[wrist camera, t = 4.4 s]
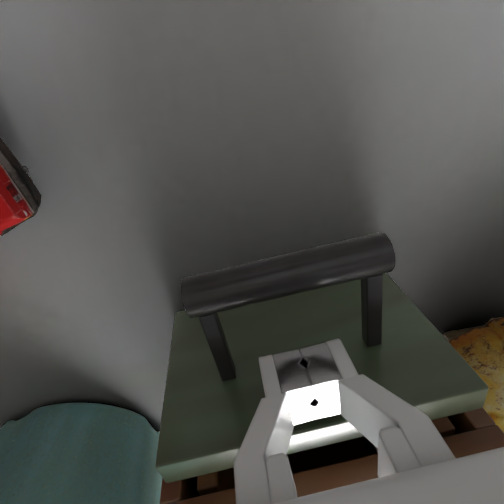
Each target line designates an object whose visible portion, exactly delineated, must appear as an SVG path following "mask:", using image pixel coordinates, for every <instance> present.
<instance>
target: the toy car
mask: <svg viewBox="0 0 504 504" xmlns="http://www.w3.org/2000/svg"><path fill="white" fill-rule="evenodd" d="M26 172H29V169H28V168H27V167H25V166H24V167H21V165H20V163H19V162H18V160H17V159H16V158H15V156H14V155H13V154H12V152H11V151H10V150H9V149H8V147H7V146H6V145H5V143H4V142H3V141H2V140H1V138H0V235H1V236H3V235H4V234H6V233H7V232H9V231H10V230H12V229H13V228H15V227H16V226H18V225H19V224H21V223H22V222H24V221H26V220H27V219H29V218H31V217H33V216H34V215H35V214H36V213H37V210H38V208H39V206H40V202H41V194H40V193H39V191H38V190H37V188H36V186H35V185H34V183H33V181H32V180H31V178H30V177H29V175H28V174H26Z"/></svg>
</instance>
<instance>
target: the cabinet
mask: <svg viewBox="0 0 504 504" xmlns="http://www.w3.org/2000/svg"><path fill="white" fill-rule="evenodd" d="M447 417H448V419H449V420H450V422H451V423H452V425H453V426H454V428H455V432H454V435H452V436H448V437H444V438H443V439H444V441H445V442H446V444H447V446H448V447H449V449H450V450H451V452H452V453H453V455H454V456H455V458H460V457H464V456H468V455H472V454H476V453H481V452H485V451H489V450H493V449H497V448H501V447H504V432H503V431H502V430H501V429H500V428H499V426H498V425H496V424H495V422H494V421H493V419H492V418H491V417H490V416H489V415H488V413H487V412H486V411H485V410H484V408H483V407H482V408H480V409H475V410H471V411H467V412H463V413H459V414H455V415H450V416H447ZM377 471H378V453H377V454H373V455H369V456H365V457H360V458H356V459H352V460H348V461H344V462H340V463H335V464H331V465H327V466H323V467H319V468H315V469H310V470H306V471H302V472H298V473H294V474H292V475H293V479H294V483H295V487H296V491H297V495H298V497H302V496H306V495H310V494H314V493H318V492H322V491H326V490H330V489H334V488H338V487H342V486H346V485H350V484H354V483H359V482H363V481H367V480H371V479H375V478H379V477H378V475H377ZM160 504H236V495H235V488H231V489H227V490H223V491H219V492H215V493H211V494H206V495H202V496H200V494H199V492H198V490H197V476H196V477H192V478H188V479H183V480H179V481H175V482H171V483H166V482H165V481H164V479H163V478H162V485H161V495H160Z"/></svg>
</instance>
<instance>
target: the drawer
mask: <svg viewBox="0 0 504 504" xmlns="http://www.w3.org/2000/svg"><path fill="white" fill-rule="evenodd" d="M394 267H395V253H394V249H393V246H392V243H391V241H390V240H389V238H388V237H387V235H386V234H384V233H382V232H379V233H374V234H370V235H366V236H361V237H357V238H353V239H349V240H344V241H340V242H336V243H331V244H327V245H323V246H318V247H314V248H310V249H306V250H301V251H297V252H293V253H288V254H284V255H280V256H275V257H271V258H267V259H263V260H258V261H254V262H250V263H245V264H241V265H237V266H233V267H228V268H224V269H220V270H215V271H211V272H207V273H202V274H198V275H194V276H190V277H185V278H183V279H182V280H181V294H182V300H183V304H184V307H185V310H184V311H180V312H176V313H175V319H174V327H173V335H172V342H171V350H170V357H169V365H168V372H167V380H166V388H165V395H164V403H163V410H162V418H161V425H160V433H159V441H158V448H157V456H156V463H155V467H156V469H157V471H158V472H159V474H160V475H161V476H162V478H163V479H164V481H165V482H166V483H171V482H175V481H179V480H183V479H188V478H192V477H196V476H197V490H198V492H199V494H200V496H202V495H206V494H211V493H215V492H219V491H223V490H227V489H231V488H235V479H234V464H233V463H234V461H235V458H236V456H237V454H238V451H239V449H240V447H241V445H242V442H243V440H244V438H245V435H246V433H247V431H248V428H249V426H250V424H251V422H252V419H253V417H254V415H255V412H256V410H257V408H258V405H259V403H260V401H261V399H262V398H265V392H264V387H263V382H262V376H261V371H260V365H259V357H263V356H267V355H272V356H273V354H276V353H280V352H285V351H290V350H295V349H299V348H301V347H305V346H309V345H313V344H317V343H321V342H326V341H330V340H334V339H338V338H339V339H340V340H341V342H342V344H343V346H344V347H345V349H346V351H347V353H348V355H349V357H350V359H351V361H352V363H353V365H354V367H355V369H356V371H357V373H358V375H361V374H363V375H365V376H366V377H368V378H370V379H371V380H373V381H374V382H376V383H377V384H379V385H380V386H382V387H384V388H385V389H387V390H388V391H390V392H391V393H393V394H395V395H396V396H398V397H399V398H401V399H402V400H404V401H405V402H407V403H409V404H410V405H412V406H413V407H415V408H416V409H418V410H420V411H421V412H423V413H424V414H426V415H427V416H429V418H430V419H431V421H432V423H433V424H434V426H435V427H436V429H437V430H438V432H439V433H440V435H441V436H442V438H444V437H448V436H452V435H454V432H455V428H454V426H453V425H452V423H451V422H450V420H449V419H448V417H447V416H450V415H455V414H459V413H463V412H467V411H471V410H475V409H480V408H482V407H483V406H484V403H485V399H486V396H487V393H488V389H489V387H488V385H487V384H486V383H485V382H484V381H483V380H482V379H481V378H480V376H479V375H478V374H477V373H476V372H475V371H474V370H473V369H472V368H471V366H470V365H469V364H468V363H467V362H466V361H465V360H464V359H463V357H462V356H461V355H460V354H459V353H458V352H457V351H456V350H455V349H454V347H453V346H452V345H451V344H450V343H449V342H448V341H447V340H446V339H445V337H444V336H443V335H442V334H441V333H440V332H439V331H438V330H437V329H436V327H435V326H434V325H433V324H432V323H431V322H430V321H429V320H428V319H427V317H426V316H425V315H424V314H423V313H422V312H421V311H420V310H419V309H418V307H417V306H416V305H415V304H414V303H413V302H412V301H411V300H410V299H409V297H408V296H407V295H406V294H405V293H404V292H403V291H402V290H401V289H400V287H399V286H398V285H397V284H396V283H395V282H394V281H393V280H392V278H391V277H390V276H389V275H388V274H387V273H388V272H391V271H392V270H393V269H394ZM273 360H274V359H273ZM377 453H378V448H377V447H376V446H374V445H373V444H372V443H371V442H370V441H369V440H368V439H367V438H366V437H365V436H363V435H362V434H361V433H360V432H359V431H358V430H357V429H356V428H355V427H354V426H352V425H351V424H350V423H349V422H348V421H347V420H346V419H345V418H344V417H343V416H342V415H341V414H339V415H334V416H329V417H325V418H320V419H315V420H312V421H308V422H305V423H301V424H297V425H294V428H293V432H292V436H291V439H290V443H289V447H288V451H287V454H286V455H287V456H288V459H289V463H290V467H291V471H292V474H294V473H298V472H302V471H306V470H310V469H315V468H319V467H323V466H327V465H331V464H335V463H340V462H344V461H348V460H352V459H356V458H360V457H365V456H369V455H373V454H377Z"/></svg>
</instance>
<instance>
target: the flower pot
mask: <svg viewBox="0 0 504 504" xmlns="http://www.w3.org/2000/svg"><path fill="white" fill-rule="evenodd" d="M159 433H160V431H155V430H154V429H153V428H152V427H151V425H150V424H149V423H148V421H147V419H146V418H145V417H144V416H142V415H140V414H138V413H135V412H133V411H131V410H127V409H124V408H120V407H116V406H111V405H105V404H98V403H62V404H54V405H48V406H44V407H40V408H37V409H35V410H33V411H32V412H31V413H30V414H28V415H27V416H25V417H23V418H22V419H20V420H17V421H14V420H11V421H8V422H7V423H6V424H4V425H3V426H2V427H1V428H0V504H160V495H161V485H162V476H161V475H160V474H159V472H158V471H157V469H156V467H155V463H156V456H157V448H158V441H159Z"/></svg>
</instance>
